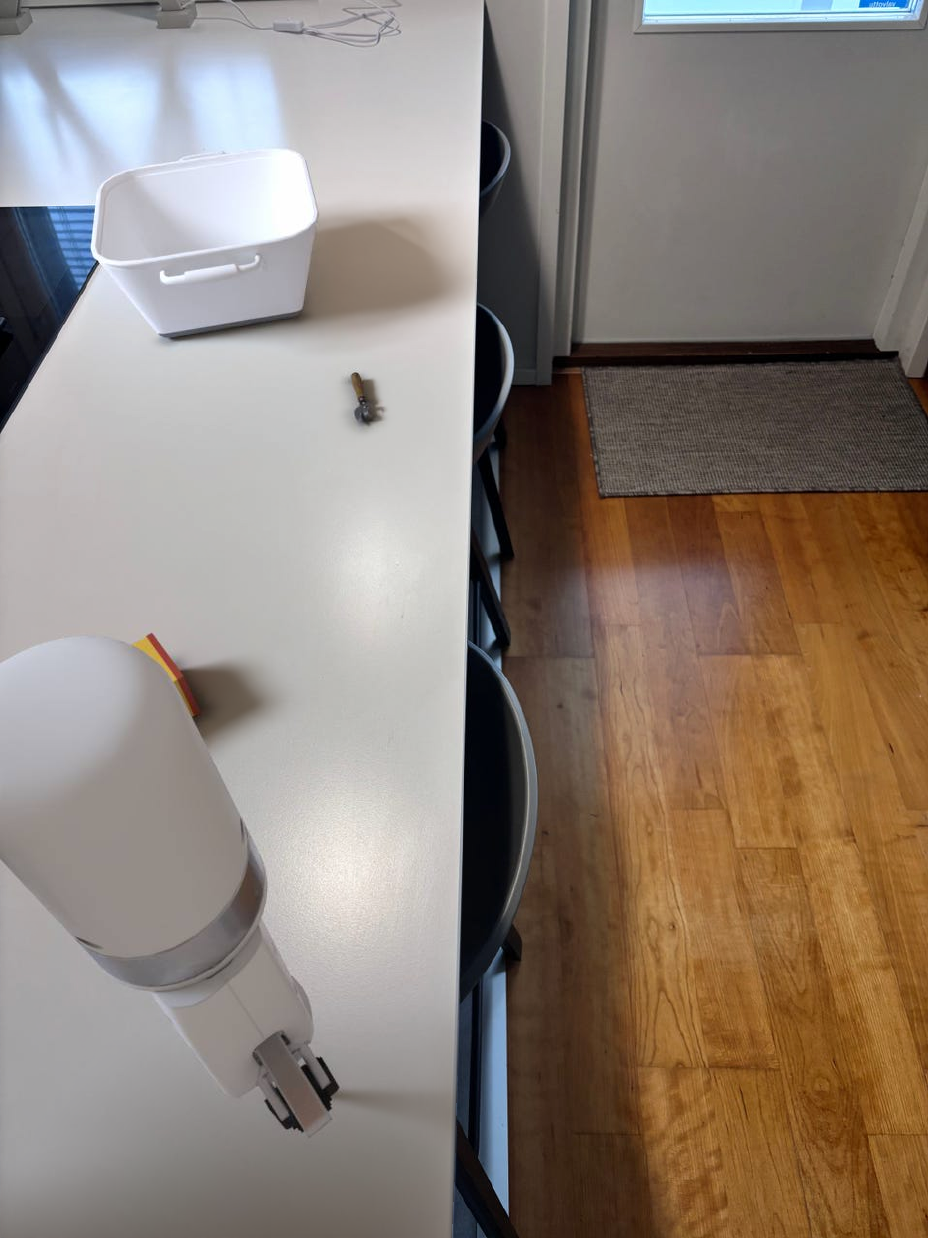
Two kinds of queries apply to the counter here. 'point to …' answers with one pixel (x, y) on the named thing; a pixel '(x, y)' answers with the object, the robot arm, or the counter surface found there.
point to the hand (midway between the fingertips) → (265, 1028)
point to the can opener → (360, 398)
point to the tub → (209, 238)
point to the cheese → (169, 669)
